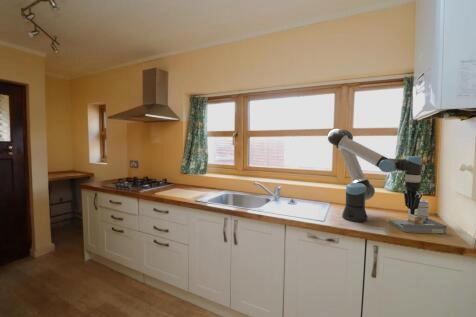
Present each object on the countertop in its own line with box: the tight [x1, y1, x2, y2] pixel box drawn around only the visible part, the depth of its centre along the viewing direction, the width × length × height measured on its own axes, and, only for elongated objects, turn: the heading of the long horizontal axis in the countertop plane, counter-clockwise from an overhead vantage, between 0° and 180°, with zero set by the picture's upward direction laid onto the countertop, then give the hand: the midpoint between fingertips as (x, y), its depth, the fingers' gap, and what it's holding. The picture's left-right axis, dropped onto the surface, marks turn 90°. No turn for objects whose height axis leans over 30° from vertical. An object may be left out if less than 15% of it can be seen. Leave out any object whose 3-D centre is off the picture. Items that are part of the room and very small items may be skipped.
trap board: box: [388, 217, 447, 234], centre depth 134 cm, size 23×14×4 cm, turn 86°
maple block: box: [407, 214, 423, 225], centre depth 134 cm, size 5×5×5 cm
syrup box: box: [415, 199, 430, 221], centre depth 144 cm, size 6×6×14 cm
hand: (410, 218), depth 138 cm, fingers closed
